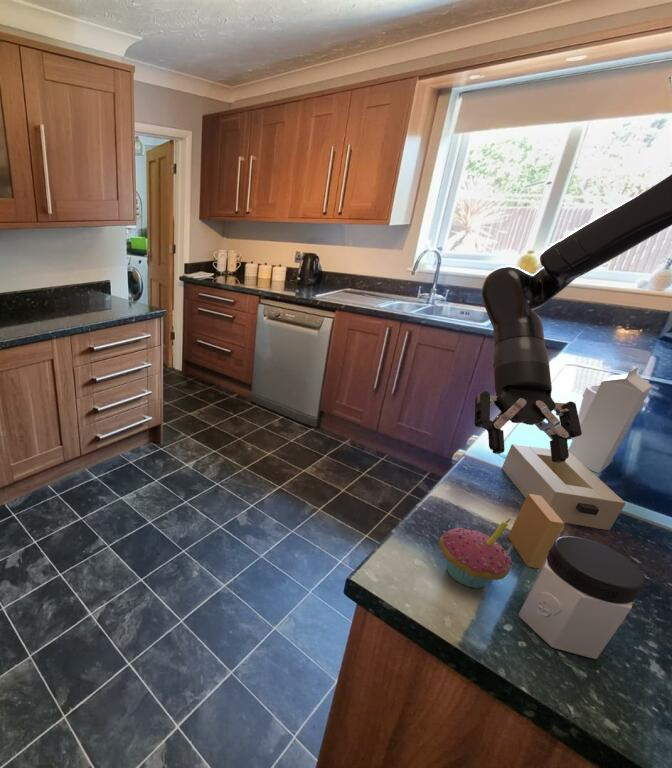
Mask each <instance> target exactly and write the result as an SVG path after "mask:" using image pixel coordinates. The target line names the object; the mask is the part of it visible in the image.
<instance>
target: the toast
mask: <svg viewBox="0 0 672 768" xmlns="http://www.w3.org/2000/svg"><path fill="white" fill-rule="evenodd" d="M565 524H566V523H564V522H563V521H562V520H561V519H560V517H559V516H558V515H557V514H556V513H555V512H554V510H553V509H552V508H551V507H550V506H549V504H548V503H547V502H546V501H545V500H544V499H543V497H542V496H540V495H533V494H528V495H527V497H526V498H525V499H524V501H523V503H522V505H521V507H520V509H519V512H518V514H517V516H516V518H515V520H514V523H513V525H512V527H511V529H510V530H509V532H508V535H507V538H508V539H509V541H510V542H511V544H512V545H513V547H514V548H515V550H516V551H517V553H518V554H519V557H520V558H521V559H522V561H523V562H524V564H525V565H526V566H527V567H528V568H534V569H539V570H540V569H541V567H542V565H543V563H544V561H545V559H546V557H547V555H548V552H549V550H550V549H551V547H552V545H553V544H554V542H555V540H556V539H558V538H559V535H560V534H561V531H562V530H563V527H564V526H565Z"/></svg>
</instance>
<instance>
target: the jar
mask: <svg viewBox="0 0 672 768" xmlns="http://www.w3.org/2000/svg"><path fill="white" fill-rule="evenodd" d="M645 586H646V577H645V575H644V573H643V572H642V570H641V569H640V568H639V567H638V566H637V565H636V564H635V563H634V562H633V561H631V559H629V558H627V557H626V556H624V555H623V554H621V553H620V552H618V551H616V550H615V549H613V548H611V547H609V546H607V545H604V544H602V543H600V542H597V541H594V540H591V539H588V538H584V537H580V536H571V535H565V536H559V537H557V539H556V540H555V542H554V544H553V545H552V547H551V549H550V550H549V552H548V555H547V557H546V559H545V561H544V563H543V565H542V567H541V569H539V570H538V572H537V574H536V576H535V578H534V580H533V581H532V583H531V586H530V588H529V589H528V591H527V593H526V595H525V597H524V600H523V602H522V604H521V607H520V609H519V612H518V614H517V615H518V618H520V620H522V621H523V622H524V623H525V624H526V625H527V626H528V627H529V628H530V629H532V631H533V632H534V633H536V634H537V636H538V637H540V638H541V639H542V640H543V641H544V642H545V643H546V644H547V645H548V646H550V648H552V649H556V650H559V651H563V652H567V653H571V654H574V655H577V656H581V657H585V658H589V659H592V660H598V658H599V656H600V655H601V654H602V652H603V651H604V649H605V648H606V647H607V645H608V644H609V642H610V641H611V640H612V638H613V636H614V635H615V633H616V632H617V631H618V629H619V627H620V626H621V625H622V624H623V622H624V620H625V619H626V618H627V616H628V615H629V613H630V612H631V610H632V609H633V602H634V601H635V600H636V598H637V597H638V595H639V594H640V593H641V591H642V590H643V589H644V587H645Z"/></svg>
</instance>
